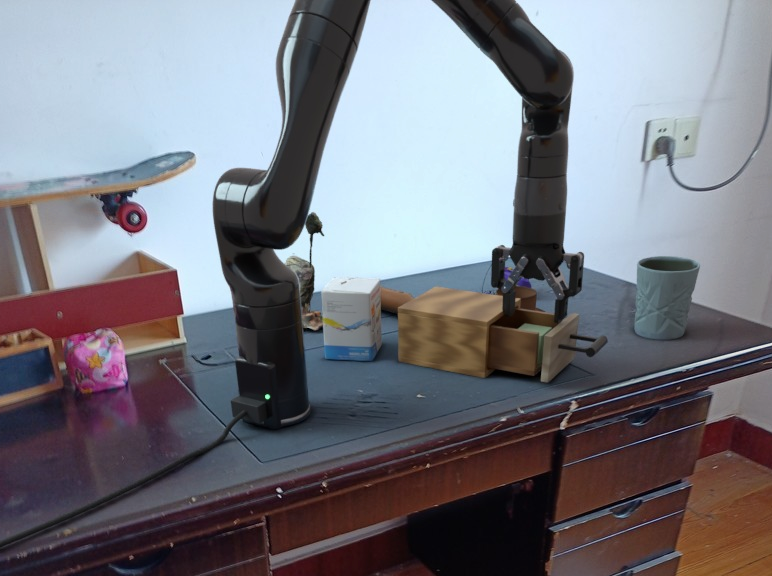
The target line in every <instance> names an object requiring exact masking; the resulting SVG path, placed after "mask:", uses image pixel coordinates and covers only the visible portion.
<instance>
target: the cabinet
mask: <svg viewBox="0 0 772 576" xmlns="http://www.w3.org/2000/svg"><path fill="white" fill-rule="evenodd" d="M413 298H414V299H413V300H411V301H409V302H407V303H405V304H404V305H402V306H400V307H398V314H397V340H398V343H397V345H398V363H403V364H409V365H414V366H420V367H424V368H430V369H436V370H439V371H445V372H450V373H456V374H460V375H466V376H471V377H477V378H483V379H485V378H487V377H488V376H489V375H490V374H492V373H493V372H494V371H495V370H496V369H494V368H488V367H487V363H488V341H489V325H491V324H492V323H494V322H495V321H496V320H498V319H499V318H501V317H502V316H504V315H505V313H503V310H502V306H503V305H502V304H503V296H499V295H496V294H491V293H490V294H487V293H485V292H483V293H482V292H477V291H471V290H465V289H464V290H462V289H456V288H449V287H442V286H433V288H431V289H428V290H427V291H425V292H423V293H421V294H419V295H418V296H416V297H413ZM520 303H521V299H520V298H515V308H520Z"/></svg>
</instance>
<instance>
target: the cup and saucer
mask: <svg viewBox="0 0 772 576" xmlns="http://www.w3.org/2000/svg"><path fill="white" fill-rule="evenodd" d="M514 291H516V297H515V298H520V299H521V303H520V308H521V309H527V310H534V311H541V312H546V311H545V310H544V309H541V308H539V307H537V299H538V291H537V289H535V288H533V287H531V288H529V287H523V286H515V287H514ZM495 295H499V296H503V292H502V291H501V290H500V289H498V288H497V289H496V290H495Z"/></svg>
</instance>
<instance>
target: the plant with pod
mask: <svg viewBox="0 0 772 576" xmlns="http://www.w3.org/2000/svg"><path fill="white" fill-rule="evenodd" d="M304 227H305V229H306V232H307V234H309V243H310V245H309V261H308V260H305V259H304V258H301V257H299V256H297V255H295V253H293V255H290V256H289V257H287V258H286V259H285V262H284V264H285V265H286V266H288V267H289V268H290V269H292V270H293V271H294V272H295V273H296V274H297V276H298V278H299V283H300V296H301V307H302V321H303V329H307V328H309V329H311V330H313V331H318V330H320V329H321V328H322V327H323V315H322V311H319V310H311V309H310V307H311V301H312V298H313V296H314V292H315V281H316V279H315V277H316V274H315V273H316V271H315V267H314V265H313V264H312V263H313V261H312V258H313V257H312V255H313V254H312V252H313V251H312V248H313V241H314V235H315V234H320V235H321V237H325V234H324V233H323V230H322V229H323V222H322V221H321V219H320V217H319V216H318V215H317V213H316V212H314V211H312V212H310V213H309V214H308V217H307V220H306V223H305V226H304Z"/></svg>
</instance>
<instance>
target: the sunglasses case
mask: <svg viewBox="0 0 772 576" xmlns="http://www.w3.org/2000/svg"><path fill="white" fill-rule="evenodd" d="M380 298H381V311H386V312H390V313H392V314H395V315H398V307H400V306H402V305H404V304H405V303H407V302H409V301H411V300H413V299H414V298H415V297H413V295H412V294H411V293H410V292H404V291H402V290H396V289H392V288H389V287H385V286H381V285H380Z"/></svg>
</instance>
